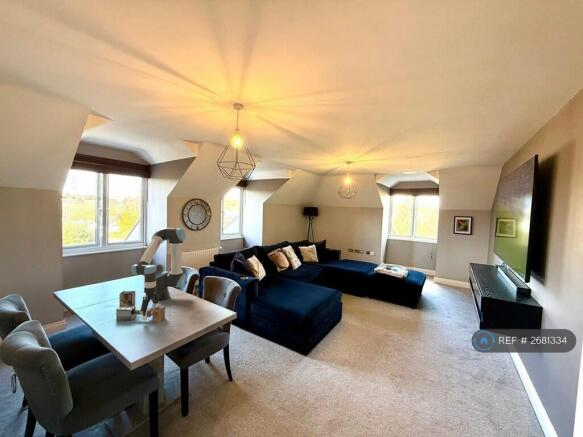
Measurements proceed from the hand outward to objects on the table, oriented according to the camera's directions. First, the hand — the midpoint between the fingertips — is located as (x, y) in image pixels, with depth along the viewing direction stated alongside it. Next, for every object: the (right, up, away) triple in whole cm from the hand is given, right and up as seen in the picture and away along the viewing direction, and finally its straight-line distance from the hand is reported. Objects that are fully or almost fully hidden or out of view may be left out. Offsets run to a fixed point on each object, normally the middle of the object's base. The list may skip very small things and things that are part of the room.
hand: (149, 315), depth 178 cm
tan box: (+7, -3, 0) cm, 7 cm away
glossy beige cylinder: (-2, 0, 0) cm, 2 cm away
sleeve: (-17, -2, 0) cm, 17 cm away
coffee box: (-23, -2, +11) cm, 26 cm away
